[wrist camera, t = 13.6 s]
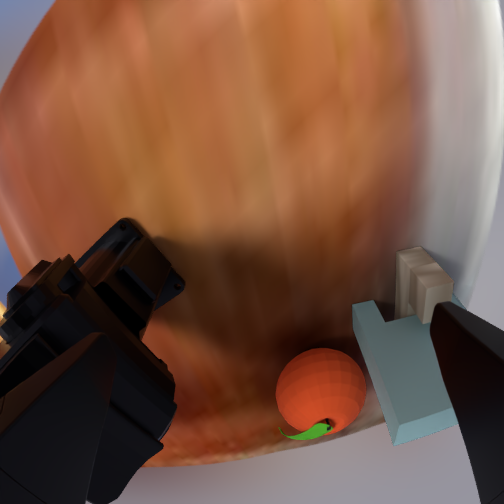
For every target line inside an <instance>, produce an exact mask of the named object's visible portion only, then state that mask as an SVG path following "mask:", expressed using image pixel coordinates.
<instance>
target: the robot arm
mask: <svg viewBox="0 0 504 504" xmlns="http://www.w3.org/2000/svg"><path fill="white" fill-rule="evenodd" d="M121 224H125V225H126V228H123V227H122V226H121ZM74 262H75V261H74V259H73V258H72V257H71V255H70V254H68V255H67V256H65V257H64V258H63V259H62V260H61V259H60V257H59V258H58V259H57V260H56V261H54V262H53V263H51V262H48V261H45V260H41V261H40V262H39V263H38V264H37V265H36V266H35V267H34V268H33V269H32V270H31V271H30V272H29V273H28V274H27V275H25V276H24V277H23V278H22V279H21V280H20V281H19V282H18V283H17V284H16V285H15V286H14V287H13V288H12V289H11V290H10V291H9V292H8V294H7V310H6V311H5V312H4V314H3V315H2V316H3V319H2V320H1V322H0V336H1V337H2V338H3V341H2V342H1V343H0V504H85V503H86V501H88V502H90V503H92V504H109V503H110V502H112V501H114V500H115V499H117V498H118V497H119V496H120V494H121V493H122V491H123V490H124V488H125V487H126V485H127V484H128V482H129V481H130V479H131V478H132V476H133V475H134V474H135V473H136V471H137V470H138V469H139V468H140V467H141V466H142V465H143V464H144V463H145V462H146V461H147V460H148V459H150V458H151V457H152V456H154V455H155V454H157V453H158V452H159V451H161V450H162V449H163V447H164V445H163V443H161V442H160V440H161V439H162V438H163V436H164V435H165V434H166V432H167V431H168V429H169V427H170V425H171V422H172V420H173V418H174V415H175V413H176V410H177V404H176V403H175V402H174V401H173V400H174V393H175V382H174V378H173V375H172V373H170V372H169V371H168V367H167V364H166V363H165V362H164V361H163V360H162V359H158V358H157V357H156V356H155V355H154V354H153V353H152V352H151V351H150V350H149V349H148V347H147V346H146V345H145V344H144V343H143V342H142V341H141V340H142V338H143V336H144V333H145V331H146V328H147V326H148V323H149V321H150V319H151V316H152V314H153V311H155V310H156V309H158V308H159V307H161V306H162V305H164V304H165V303H166V302H168V301H169V300H171V299H172V298H174V297H175V296H177V295H178V294H180V293H181V292H182V291H183V290H184V288H185V282H184V280H183V279H182V278H181V277H180V276H179V275H178V274H177V273H176V271H175V270H174V269H173V268H172V267H171V263H170V262H169V261H168V260H167V259H166V258H165V257H164V256H163V255H162V253H161V252H160V251H159V250H158V249H157V248H156V247H155V246H154V245H153V244H152V242H151V241H150V240H149V239H148V238H145V237H144V236H143V235H142V234H141V233H140V232H139V231H138V229H137V228H136V227H135V226H134V225H133V224H132V223H131V221H130V220H128V219H127V218H121V219H120V220H119V221H118V222H117V223H116V224H114V225H113V226H112V227H111V228H110V229H109V230H108V231H107V232H106V233H105V234H104V235H103V236H102V237H101V238H100V239H99V240H98V241H97V242H96V243H95V244H94V245H93V246H92V247H91V248H90V249H89V250H88V251H87V252H86V253H85V254H84V255H83V256H82V257H81V258H80V259H79V260H78V261H77V262H76V263H74ZM78 268H79V269H78ZM175 284H179V285H180V287H177V286H176V285H175ZM430 337H431V340H432V343H433V347H434V350H435V354H436V357H437V361H438V364H439V368H440V372H441V375H442V379H443V382H444V385H445V388H446V390H447V393H448V396H449V398H450V401H451V404H452V407H453V409H454V412H455V415H456V418H457V421H458V424H459V427H460V430H461V433H462V436H463V439H464V442H465V445H466V449H467V452H468V456H469V459H470V463H471V466H472V470H473V474H474V478H475V481H476V485H477V489H478V493H479V498H480V502H481V504H504V331H503V330H501V329H499V328H497V327H496V326H494V325H492V324H490V323H488V322H486V321H485V320H483V319H481V318H480V317H478V316H476V315H474V314H473V313H471V312H469V311H467V310H465V309H463V308H462V307H460V306H458V305H456V304H454V303H453V302H451V301H445V302H440V303H437V304H436V305H435V307H434V310H433V315H432V319H431V324H430Z"/></svg>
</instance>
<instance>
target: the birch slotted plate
mask: <svg viewBox="0 0 504 504" xmlns="http://www.w3.org/2000/svg"><path fill="white" fill-rule="evenodd" d="M453 286H454V281H453V280H452V279H451V278H450V277H449V275H448V274H447V273H446V272H445V271H444V270H443V269H442V268H441V267H440V266H439V265H438V264H437V263H436V262H435V261H434V260H433V259H432V258H431V257H430V256H429V254H428V253H427V252H426V251H425V250H424V249H423V248H422V247H421V246H420V247H415V248H411V249H406V250H401V251H396V294H395V314H394V320H397V319H401V318H405V317H409V316H413V315H417V316H418V318H419V319H420V321H421V322H422V324H425V323H429V322H431V319H432V315H433V310H434V307H435V305H436V304H437V303H440V302H445V301H451V300H452V293H453Z"/></svg>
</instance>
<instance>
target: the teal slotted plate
mask: <svg viewBox="0 0 504 504" xmlns="http://www.w3.org/2000/svg"><path fill="white" fill-rule="evenodd" d="M451 302H453V303H454V304H456V305H458V306H460V307H462V308H463V309H465V310H466V308H465V307H464V306H463V305H462V304H461V302H460V301H459V300H458V299H457V298H456V296H455V295H454V294H453V293H452V300H451ZM352 318H353V331H354V333H355V336H356V339H357V341H358V344H359V347H360V349H361V352H362V355H363V357H364V360H365V363H366V366H367V368H368V371H369V374H370V377H371V380H372V382H373V385H374V388H375V391H376V394H377V397H378V400H379V403H380V406H381V409H382V412H383V415H384V418H385V421H386V424H387V427H388V430H389V433H390V436H391V439H392V443H393V446H396V445H399V444H402V443H406V442H409V441H412V440H415V439H418V438H421V437H424V436H427V435H430V434H433V433H436V432H438V431H441V430H444V429H446V428H449V427H452V426H454V425H457V424H458V421H457V418H456V415H455V412H454V409H453V407H452V404H451V401H450V398H449V396H448V393H447V390H446V388H445V385H444V382H443V379H442V375H441V372H440V368H439V364H438V361H437V357H436V354H435V350H434V347H433V343H432V340H431V337H430V324H431V322H429V323H425V324H422V322H421V321H420V319H419V318H418V316H417V315H413V316H409V317H405V318H401V319H397V320H393V321H389V322H385V321H384V319H383V317H382V316H381V314H380V312H379V310H378V308H377V306H376V304H375V302H374V300H371V301H366V302H362V303H357V304H352Z"/></svg>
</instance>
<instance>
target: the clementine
mask: <svg viewBox="0 0 504 504" xmlns="http://www.w3.org/2000/svg"><path fill="white" fill-rule="evenodd" d="M365 396H366V382H365V378H364V375H363V372H362V370H361V369H360V367H359V365H358V364H357V363H356V362H355V361H354V360H353V359H352V358H351V357H349V356H348V355H347V354H345V353H343V352H341V351H338V350H334V349H329V348H316V349H310V350H308V351H305V352H303V353H301V354H299V355H297V356H296V357H295V358H293V359H292V360H291V361H290V362H289V363H288V364H287V365H286V366H285V368H284V369H283V371H282V372H281V374H280V376H279V378H278V382H277V386H276V400H277V404H278V408H279V411H280V413H281V414H282V416H283V417H284V419H285V420H286V421H287V423H288V424H290V425H291V426H292V427H294V428H295V429H297V430H298V431H300V432H303V433H301V434H298V435H296V436H287V435H285V434H284V433H283V432H282V430H281V429H280V428H279V427H278V428H279V429H280V431H281V433H282V434H283V435H285V436H287V437H289V438H291V439H297V440H308V439H313V438H317V437H320V436H322V435H329V434H333V433H336V432H338V431H340V430H342V429H343V428H345V427H346V426H348V425H349V424H350V423H352V422H353V421H354V420H355V419H356V417H357V416H358V414H359V413H360V411H361V409H362V407H363V405H364V401H365Z"/></svg>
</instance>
